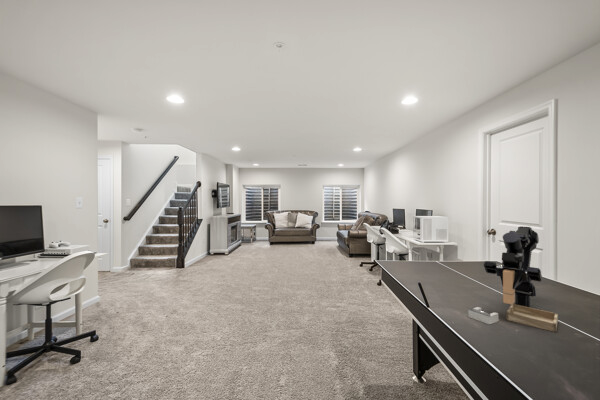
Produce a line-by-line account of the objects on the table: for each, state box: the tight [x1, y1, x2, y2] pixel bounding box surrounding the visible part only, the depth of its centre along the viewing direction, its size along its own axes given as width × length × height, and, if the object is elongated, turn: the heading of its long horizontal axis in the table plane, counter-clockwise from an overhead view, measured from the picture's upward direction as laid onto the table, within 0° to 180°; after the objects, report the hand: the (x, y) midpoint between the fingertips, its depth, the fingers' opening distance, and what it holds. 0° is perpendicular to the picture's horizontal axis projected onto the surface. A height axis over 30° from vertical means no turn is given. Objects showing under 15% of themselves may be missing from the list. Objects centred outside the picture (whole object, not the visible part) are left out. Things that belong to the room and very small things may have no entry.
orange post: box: [502, 269, 515, 306], centre depth 109 cm, size 4×3×13 cm, turn 131°
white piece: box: [468, 306, 500, 325], centre depth 111 cm, size 8×8×4 cm
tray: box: [505, 304, 559, 333], centre depth 110 cm, size 15×15×3 cm
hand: (508, 287), depth 108 cm, fingers closed on orange post, 3 cm apart
